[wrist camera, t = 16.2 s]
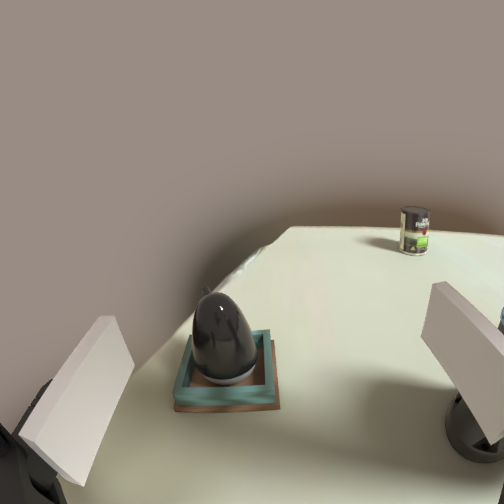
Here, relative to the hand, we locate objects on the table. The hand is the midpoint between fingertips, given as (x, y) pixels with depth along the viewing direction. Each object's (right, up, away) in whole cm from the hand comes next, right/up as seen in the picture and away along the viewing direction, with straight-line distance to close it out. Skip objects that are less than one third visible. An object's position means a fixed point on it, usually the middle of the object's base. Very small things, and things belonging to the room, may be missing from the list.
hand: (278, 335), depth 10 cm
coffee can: (+53, +4, +74) cm, 91 cm away
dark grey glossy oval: (-5, -17, +34) cm, 38 cm away
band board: (-5, -18, +34) cm, 39 cm away
